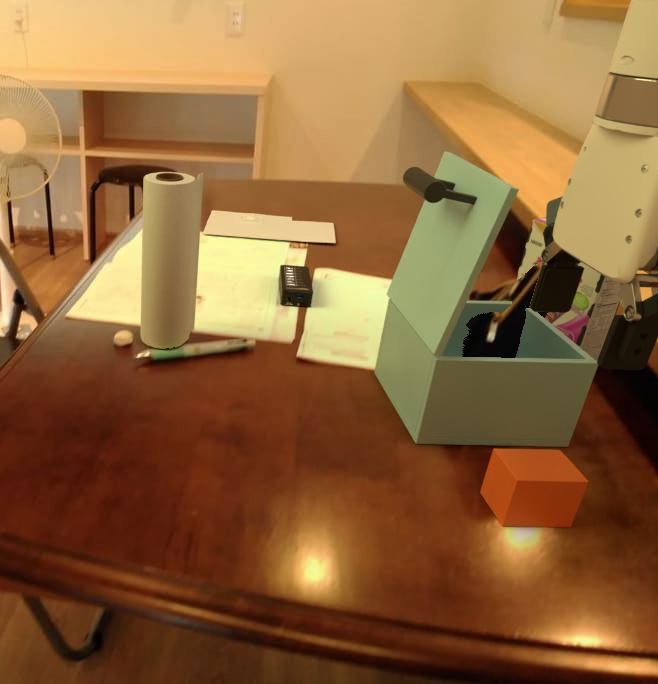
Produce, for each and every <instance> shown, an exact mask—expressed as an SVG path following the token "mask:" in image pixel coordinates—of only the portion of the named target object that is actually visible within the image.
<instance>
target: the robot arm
mask: <svg viewBox="0 0 658 684" xmlns="http://www.w3.org/2000/svg"><path fill="white" fill-rule="evenodd" d="M605 78H606V79H605V82H604V85H603V88H602V91H601V94H600V97H599V100H598V103H597V106H596V110H595V112H594V116H593V119H592V122H591V123H592V125H591V128H590V129H589V132H588V133H587V135H586V137H585V140H584V142H583V144H582V145H581V149H580V151H579V152H578V155H577V157H576V159H575V163H574V165H573V167H572V170H571V172H570V175H569V178H568V180H567V183H566V186H565V188H564V191H563V194H562V196H560V197H557V198H553V199H551V200H549V201H548V202H547V204H546V208H545V209H546V211H545V212H546V214H545V217H546V225H548V226H546V228H545V229H544V232H543V237H544V243H545V249H544V250H543V251H542V253H541V262H542V263H545V264H547V265H542V267H541V270H540V273H539V277H538V280H537V283H536V286H535V289H534V293H533V296H532V299H531V302H530V306H529V307H530V309H532V310H533V311H534V312H556V313H566V312H569V311H570V309H571V306H572V304H573V301H574V298H575V295H576V292H577V289H578V286H579V283H580V280H581V277H582V274H583V271H584V267H582V266H576V264H579V263H581V262H582V263H584V264H585V265H587V266H589V267H590V268H592V269H594V270H595V271H597V272H598V273H600V274H602V275H603V276H605V277H607V278H608V279H610V280H612V281H614V282H617V283H619V287H620V294H621V302H620V303H621V308H622V309H621V310H622V314H616V315H614V318H613V320H612V322H611V325H610V328H609V330H608V333H607V335H606V338H605V341H604V343H603V346H602V349H601V351H600V354H599V357H598V360H597V364H598V367H601V369H603V370H622V371H623V370H625V371H627V370H628V371H641V370H643V369H645V368H646V367H647V365H648V362H649V360H650V357H651V355H652V353H653V351H654V348H655V347H656V343H657V341H658V0H630V2H629V6H628V8H627V11H626V14H625V18H624V21H623V25H622V27H621V30H620V34H619V37H618V40H617V43H616V46H615V49H614V53H613V57H612V59H611V61H610V64H609V68H608V72H607V75H606V77H605ZM638 271H639V272H641V271H642V272H644V273H638ZM641 288H650V290H651V296H649V297H647V298H645V299H644V300H643V299H642V293H641Z"/></svg>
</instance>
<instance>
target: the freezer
mask: <svg viewBox="0 0 658 684" xmlns="http://www.w3.org/2000/svg"><path fill="white" fill-rule="evenodd" d="M511 304H512V301H510V300H467V302H466V304H465V306H464V308H463V310H462V313H461V315H460V317H459V319H458V321H457V323H456V325H455V328H454V330H453V332H452V334H451V336H450V338H449V340H448V342H447V345H446V347H445V349H444V351H443V353H442V355H441V356H439V355H434V354H433V353H432V352H431V350H430V349H429V348H428V347H427V345H426V344H425V343H424V341H423V340H422V339H421V338H420V336H419V335H418V334H417V333H416V331H415V330H414V329H413V327H412V326H411V325H410V324H409V322H408V321H407V320H406V318H405V317H404V316H403V315H402V313H401V312H400V311H399V310H398V308H397V307H396V306H395V304H394V303H393V302H392V301H391V299H390V298H388V302H387V306H386V312H385V317H384V322H383V327H382V331H381V335H380V336H381V337H380V340H379V341H380V342H379V347H378V352H377V357H376V361H375V367H374V372H373V373H374V376H375V377H376V379H377V381H378V382H379V384H380V386H381V387H382V389H383V390H384V392H385V394H386V396H387V397H388V399H389V401H390V403H391V404H392V406H393V408H394V410H395V411H396V412H397V414H398V416H399V418H400V420H401V421H402V423H403V425H404V426H405V428H406V430H407V431H408V433H409V434H410V437H411V438H412V440H413V442H414V443H415V444H416V445H451V446H452V445H454V446H456V445H457V446H496V447H497V446H499V447H500V446H501V447H503V446H504V447H548V448H549V447H553V448H556V447H557V448H568V447H569V446H570V443H571V440H572V437H573V435H574V432H575V429H576V427H577V424H578V421H579V419H580V416H581V414H582V411H583V407H584V406H585V402H586V398H587V397H588V394H589V391H590V388H591V386H592V383H593V381H594V378H595V375H596V372H597V370H598V367H599V365H598V364H597V361H596V360H594V359H593V358H592V357H591V356H590V355H588V354H587V353H586V352H585V351H584V350H582V349H581V348H580V347H579V346H578V345H576V344H575V343H574V342H573V341H572V340H570V339H569V338H568V337H567V336H566V335H564V334H563V333H562V332H561V331H560V330H558V329H557V328H556V327H555V326H553V325H552V324H551V323H550V322H549V321H547V320H546V319H545V318H544V317H543V316H541V315H540V314H539V313H538V312H534V311H533V310H532V309H530V308H526V309H525V311H526V319H525V324H524V326H523V330H522V334H521V337H520V344H519V347H518V351H517V354H516V357H515V358H501V357H462V356H463V355H462V354H464V353H463V351H462V350H463V348H464V347H463V346H465V345H464V344H463V342H464V341H463V340H465V339H466V338H465V337H467V336H468V335H469V331H468V330H470V329H469V328H468V327H467V326H466V324H467V323H468V322H469V320H470V319H471V318H472V317H473V318H474V317H475V316H477V315H478V314H479V315H480V314H483V313H484V314H485V313H486V314H487V313H489V312H499V313H501V312H503V311H505V310H506V309H507V308H508V307H509V306H510V305H511ZM467 334H468V335H467ZM470 334H471V333H470ZM464 338H465V339H464Z"/></svg>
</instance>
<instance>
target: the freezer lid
mask: <svg viewBox="0 0 658 684" xmlns="http://www.w3.org/2000/svg"><path fill="white" fill-rule="evenodd" d="M402 181H403V183H404V185H405V186H406V187H408V188H409V189H410V190H412V191H413V192H414V193H415V194H417V195H418V196H420V198H422V199H424V201H423V203H422V205H421V206H422V207H421V208H420V209H421V211H420V213H418V216H417V217H418V218H416V221H415V223H414V226H413V228H412V230H411V232H410V235H409V238H408V240H407V243H406V245H405V247H404V249H403V253H402V255H401V256H400V260H399V262H398V265H397V267H396V269H395V272H394V274H393V277H392V279H391V282H390V284H389V287H388V289H387V291H386V296H387V297H388V299H391V301H392V302H393V303H394V304H395V306H396V307H397V308H398V310H399V311H400V312H401V313H402V315H403V316H404V317H405V318H406V320H407V321H408V322H409V324H410V325H411V326H412V327H413V329H414V330H415V331H416V333H417V334H418V335H419V336H420V338H421V339H422V340H423V341H424V343H425V344H426V345H427V347H428V348H429V349H430V350H431V352H432V353H433V354H434V355H439V356H441V355H442V353H443V351H444V349H445V347H446V345H447V342H448V340H449V338H450V336H451V334H452V332H453V330H454V328H455V325H456V323H457V321H458V319H459V317H460V315H461V313H462V310H463V308H464V306H465V304H466V302H467V300H468V299H469V297H470V296H471V293H472V291H473V289H474V287H475V285H476V282H477V280H478V279H479V276H480V274H481V272H482V270H483V268H484V267H485V266H484V265H485V264H486V261H487V259H488V257H489V255H490V253H491V251H492V249H493V246H494V244H495V242H496V240H497V237H498V236H499V233H500V231H501V229H502V227H503V225H504V223H505V221H506V218H507V217H508V215H509V212H510V210H511V208H512V205H513V203H514V202H515V199H516V197H517V195H518V193H519V191H520V190H519V188H518V187H516V186H514V185H513V184H510V183H509V182H507V181H505V180H502V179H501V178H500V177H497V176H495V175H494V174H492V173H490V172H488V171H486V170H484V169H482V167H481V168H480V167H479V166H477V165H475V164H473V163H472V162H470V161H467V160H466V159H464V158H462V157H461V156H459V155H456V154H455V153H453V152H450V151H444V152H443V155H442V157H441V159H440V162H439V164H438V167H437V169H436V172H435V174H434V176H433V175H431V174H430V173H428V172H427V171H425V170H424V169H422V168H421V167H419V166H411V167H409V168H408V169H406V170H405V172H404V173H403V176H402Z"/></svg>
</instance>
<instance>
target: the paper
mask: <svg viewBox="0 0 658 684" xmlns="http://www.w3.org/2000/svg"><path fill="white" fill-rule="evenodd" d="M202 234H203V235H213V236H227V237H241V238H251V239H264V240H277V241H291V242H303V243H304V242H306V243H323V244H325V243H327V244H336V242H337V241H336V231H335V224H334V222H325V221H311V220H310V221H309V220H307V221H306V220H293V216H281V215H271V214H262V213H253V212H250V213H249V212H234V211H228V210H227V211H225V210H214V209H212V210H211V212H210V214H209V216H208V219H207V221H206V223H205V227H204V229H203V232H202Z"/></svg>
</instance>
